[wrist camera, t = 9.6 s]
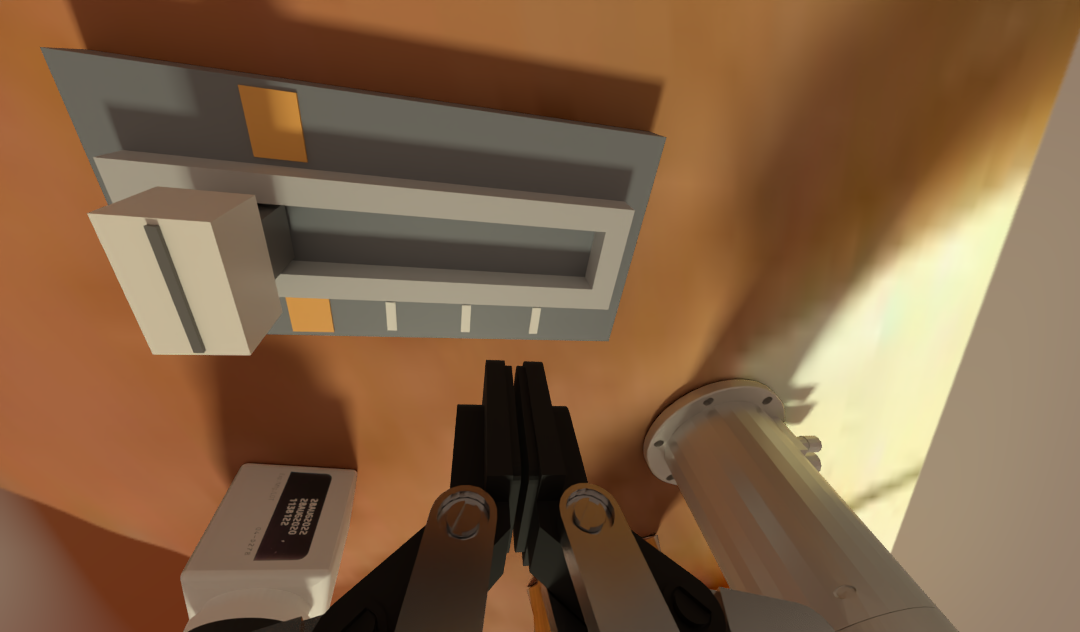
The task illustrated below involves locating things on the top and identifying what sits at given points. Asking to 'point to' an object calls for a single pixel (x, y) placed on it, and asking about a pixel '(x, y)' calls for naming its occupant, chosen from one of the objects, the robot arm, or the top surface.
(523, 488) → the robot arm
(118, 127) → the console
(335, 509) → the container
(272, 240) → the fader
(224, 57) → the top surface
